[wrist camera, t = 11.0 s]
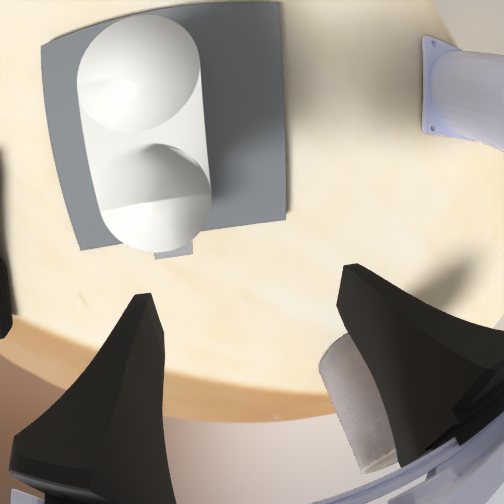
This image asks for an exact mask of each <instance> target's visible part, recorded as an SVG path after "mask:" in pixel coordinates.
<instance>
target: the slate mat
mask: <svg viewBox="0 0 504 504" xmlns="http://www.w3.org/2000/svg"><path fill="white" fill-rule="evenodd" d="M138 15H157V16H161V17H165V18H168V19H170V20H173V21H174V22H176V23H178V24H179V25H181V26H182V27H183V28H184V29H185V30H186V31H187V32H188V33H189V34H190V36H191V37H192V38H193V40H194V42H195V44H196V46H197V50H198V53H199V59H200V72H201V86H202V99H203V112H204V124H205V135H206V146H207V156H208V166H209V176H210V186H211V198H212V201H211V209H210V213H209V216H208V219H207V221H206V223H205V225H204V227H203V228H202V229H201V231H207V230H214V229H221V228H228V227H235V226H242V225H250V224H257V223H265V222H273V221H281V220H286V151H285V112H284V85H283V64H282V45H281V29H280V14H279V3H269V2H224V3H208V4H196V5H187V6H179V7H172V8H165V9H159V10H154V11H149V12H144V13H139V14H134V15H130V16H126V17H122V18H118V19H114V20H111V21H107V22H104V23H100V24H97V25H94V26H91V27H88V28H85V29H82V30H79V31H76V32H74V33H71V34H68V35H66V36H63V37H61V38H58V39H56V40H53V41H51V42H49V43H46V44H44V45H42V46H41V68H42V82H43V93H44V102H45V110H46V117H47V123H48V129H49V135H50V141H51V146H52V151H53V156H54V161H55V165H56V169H57V174H58V178H59V182H60V186H61V189H62V193H63V197H64V200H65V204H66V207H67V211H68V214H69V217H70V220H71V223H72V226H73V229H74V232H75V235H76V238H77V241H78V244H79V247H80V250H81V251H82V250H88V249H94V248H99V247H105V246H111V245H117V244H123V242H121V241H120V240H118V239H117V238H116V237H115V236H114V235H113V234H112V233H111V232H110V230H109V229H108V227H107V226H106V224H105V223H104V220H103V218H102V216H101V213H100V209H99V206H98V202H97V198H96V194H95V190H94V185H93V181H92V177H91V172H90V167H89V163H88V157H87V152H86V147H85V141H84V135H83V129H82V123H81V116H80V108H79V100H78V91H77V75H78V69H79V65H80V62H81V59H82V57H83V55H84V53H85V51H86V49H87V48H88V47H89V45H90V44H91V42H92V41H93V40H94V39H95V38H96V37H97V36H98V35H99V34H100V33H101V32H102V31H103V30H105V29H106V28H108V27H109V26H111V25H112V24H114V23H116V22H118V21H120V20H123V19H125V18H129V17H132V16H138Z"/></svg>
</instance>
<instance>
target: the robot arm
mask: <svg viewBox="0 0 504 504" xmlns="http://www.w3.org/2000/svg"><path fill="white" fill-rule="evenodd" d="M432 43H433V45H432ZM422 52H423V109H422V131H423V132H425V133H427V134H434V135H441V136H448V137H454V138H460V139H466V140H472V141H477V142H481V143H483V144H486V145H488V146H491V147H493V148H495V149H498V150H500V151H502V152H504V56H502V55H495V54H488V53H479V52H468V51H462V50H460V49H458V48H456V47H454V46H452V45H450V44H447V43H445V42H443V41H440V40H438V39H435V38H433V37H430V36H423V37H422ZM431 126H432V129H431ZM336 306H337V308H338V311H339V314H340V316H341V318H342V321H343V323H344V326H345V328H346V329H347V331H348V333H349V335H350V336H351V338H352V340H353V342H354V343H355V345H356V347H357V349H358V350H359V352H360V354H361V356H362V357H363V359H364V361H365V363H366V364H367V366H368V368H369V370H370V372H371V374H372V376H373V378H374V381H375V383H376V386H377V388H378V391H379V393H380V396H381V399H382V401H383V404H384V407H385V410H386V413H387V416H388V420H389V423H390V427H391V430H392V434H393V439H394V443H395V448H396V453H397V459H398V462H399V464H400V467H401V469H399V470H397V471H395V472H393V473H391V474H388V475H386V476H384V477H382V478H380V479H377V480H375V481H373V482H370V483H368V484H365V485H363V486H361V487H358V488H355V489H353V490H350V491H347V492H345V493H342V494H339V495H336V496H333V497H330V498H327V499H323V500H320V501H317V502H313V503H310V504H365V503H368V502H370V501H372V500H375V499H377V498H379V497H382V496H384V495H386V494H388V493H390V492H392V491H394V490H396V489H398V488H400V487H402V486H404V485H406V484H408V483H410V482H412V481H413V480H415V479H417V478H419V477H420V476H422V475H424V474H426V473H427V472H428V474H427V477H426V480H425V481H424V482H422V483H420V484H418V485H416V486H415V487H413V488H411V489H409V490H407V491H405V492H403V493H401V494H399V495H398V496H396V497H394V498H392V499H390V500H388V504H485V503H486V502H487V501H488V500H489V499H490V497H491V496H492V495H493V494H494V493H495V492H496V491H497V489H498V488H499V487H500V486H501V485H502V483H503V482H504V331H502V330H496V329H492V328H488V327H484V326H481V325H477V324H474V323H471V322H468V321H465V320H462V319H460V318H457V317H454V316H452V315H450V314H447V313H445V312H443V311H441V310H439V309H436V308H434V307H432V306H430V305H428V304H426V303H424V302H422V301H421V300H419V299H417V298H415V297H413V296H412V295H410V294H408V293H406V292H405V291H403V290H401V289H400V288H398V287H396V286H395V285H393V284H392V283H390V282H388V281H387V280H385V279H383V278H382V277H380V276H379V275H377V274H375V273H374V272H372V271H370V270H369V269H367V268H365V267H363V266H362V265H360V264H358V263H356V264H350V265H344V266H343V272H342V278H341V283H340V289H339V294H338V299H337V304H336ZM164 364H165V345H164V331H163V328H162V326H161V323H160V320H159V317H158V314H157V311H156V307H155V304H154V301H153V298H152V295H151V293H145V294H136V295H134V297H133V298H132V300H131V301H130V303H129V304H128V306H127V308H126V309H125V311H124V313H123V314H122V316H121V318H120V319H119V321H118V322H117V324H116V326H115V327H114V329H113V330H112V332H111V333H110V335H109V337H108V338H107V340H106V341H105V343H104V344H103V346H102V347H101V348H100V350H99V351H98V353H97V354H96V356H95V357H94V359H93V360H92V361H91V363H90V364H89V365H88V367H87V368H86V369H85V370H84V372H83V373H82V374H81V375H80V376H79V378H78V379H77V380H76V381H75V382H74V383H73V384H72V385H71V387H70V388H69V389H68V390H67V391H66V392H65V393H64V394H63V395H62V396H61V397H60V398H59V399H58V400H57V401H56V402H55V403H54V404H53V405H52V406H51V407H50V408H49V409H48V410H47V411H46V412H44V413H43V414H42V415H41V416H40V417H39V418H38V419H36V420H35V421H34V422H33V423H31V424H30V425H29V426H27V427H26V428H25V429H23V430H22V431H21V432H20V433H18V434H17V435H15V436H14V440H13V445H12V451H11V457H10V464H9V472H10V474H11V475H12V476H13V477H15V478H16V479H18V480H19V481H22V482H23V483H25V484H27V485H29V486H31V487H33V488H35V489H37V490H39V491H41V492H43V493H45V500H43V499H41V498H38V497H35V496H32V495H29V494H27V493H24V492H21V491H18V490H16V489H12V492H11V504H176V500H175V496H174V492H173V487H172V483H171V478H170V473H169V467H168V461H167V455H166V448H165V441H164V430H163V419H162V402H163V381H164Z"/></svg>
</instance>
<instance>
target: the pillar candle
mask: <svg viewBox="0 0 504 504" xmlns="http://www.w3.org/2000/svg"><path fill="white" fill-rule="evenodd" d="M319 372H320V375H321V376H322V379H323V382H324V384H325V387H326V389H327V392H328V394H329V397H330V398H331V400H332V404H333V406H334V408H335V411H336V414H337V416H338V418H339V421H340V422H341V425H342V427H343V429H344V431H345V434H346V436H347V438H348V441H349V443H350V446H351V448H352V450H353V453H354V456H355V458H356V460H357V463H358V465H359V468H360V470H361V472H360V474H367V473H372V472H375V471H378V470H381V469H383V468H386V467H388V466H390V465H393V464H395V463H397V462H398V459H397V453H396V448H395V443H394V439H393V434H392V430H391V427H390V423H389V420H388V416H387V413H386V410H385V407H384V404H383V401H382V399H381V396H380V393H379V391H378V388H377V386H376V383H375V381H374V378H373V376H372V374H371V372H370V370H369V368H368V366H367V364H366V363H365V361H364V359H363V357H362V356H361V354H360V352H359V350H358V349H357V347H356V345H355V343H354V342H353V340H352V338H351V336H350V335H349V333H347V334H345V335H344V336H342V337H341V338H340V339H338V340H337V341H335V342H334V343H333V344H332V345H331V346H330V348H329V349H328V351H327V352H326V354H325V355H324V357H323V358H322V360H321V362H320V364H319Z"/></svg>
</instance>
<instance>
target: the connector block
mask: <svg viewBox="0 0 504 504" xmlns="http://www.w3.org/2000/svg"><path fill="white" fill-rule="evenodd" d="M77 91H78V100H79V108H80V116H81V123H82V129H83V135H84V141H85V147H86V152H87V157H88V163H89V167H90V172H91V177H92V181H93V185H94V190H95V194H96V198H97V202H98V206H99V209H100V213H101V216H102V218H103V220H104V223H105V224H106V226H107V227H108V229H109V230H110V232H111V233H112V234H113V235H114V236H115V237H116V238H117V239H118V240H120V241H121V242H123V243H124V244H126V245H128V246H129V247H132V248H134V249H137V250H140V251H144V252H154V256H155V259H162V258H169V257H176V256H183V255H190V254H193V242H192V239H193V238H195V236H196V235H197V234H198V233H199V232H200V231H201V229H202V228H203V227H204V225H205V223H206V221H207V219H208V216H209V213H210V209H211V201H212V198H211V186H210V176H209V166H208V156H207V146H206V135H205V124H204V112H203V99H202V86H201V72H200V59H199V53H198V50H197V46H196V44H195V42H194V40H193V38H192V37H191V36H190V34H189V33H188V32H187V31H186V30H185V29H184V28H183V27H182V26H181V25H179V24H178V23H176V22H174V21H173V20H170V19H168V18H165V17H161V16H157V15H138V16H132V17H129V18H125V19H123V20H120V21H118V22H116V23H114V24H112V25H111V26H109V27H108V28H106V29H105V30H103V31H102V32H101V33H100V34H99V35H98V36H97V37H96V38H95V39H94V40H93V41H92V42H91V44H90V45H89V47H88V48H87V49H86V51H85V53H84V55H83V57H82V59H81V62H80V65H79V69H78V75H77Z"/></svg>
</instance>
